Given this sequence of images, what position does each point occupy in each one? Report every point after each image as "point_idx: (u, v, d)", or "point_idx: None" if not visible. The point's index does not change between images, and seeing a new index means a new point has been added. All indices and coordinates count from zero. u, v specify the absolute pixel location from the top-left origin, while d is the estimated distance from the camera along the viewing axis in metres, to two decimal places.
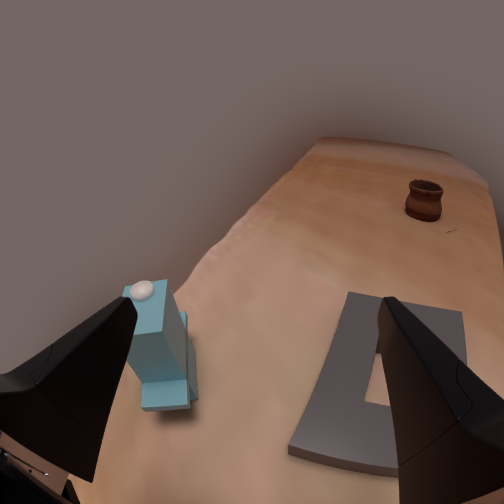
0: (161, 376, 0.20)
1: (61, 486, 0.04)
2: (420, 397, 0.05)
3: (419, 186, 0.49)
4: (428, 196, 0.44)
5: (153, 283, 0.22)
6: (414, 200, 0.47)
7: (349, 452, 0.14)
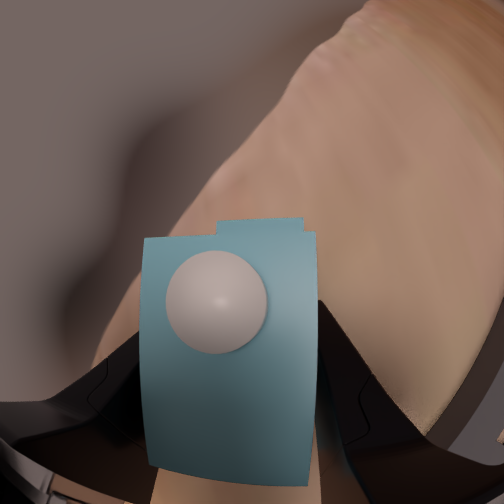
0: None
1: None
2: (325, 409, 0.05)
3: None
4: None
5: (257, 245, 0.06)
6: None
7: None
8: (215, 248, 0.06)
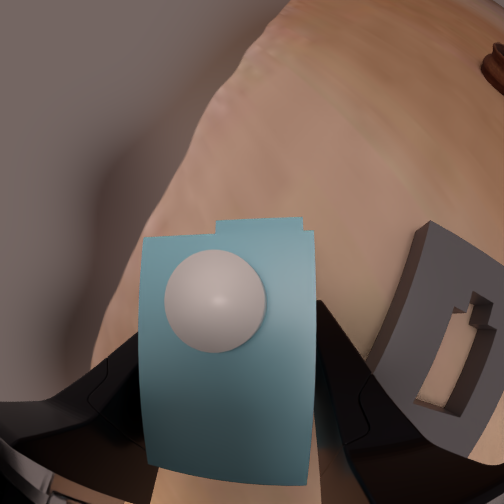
0: None
1: None
2: (324, 409, 0.05)
3: (502, 51, 0.17)
4: None
5: (255, 244, 0.06)
6: (497, 67, 0.18)
7: None
8: (214, 247, 0.06)
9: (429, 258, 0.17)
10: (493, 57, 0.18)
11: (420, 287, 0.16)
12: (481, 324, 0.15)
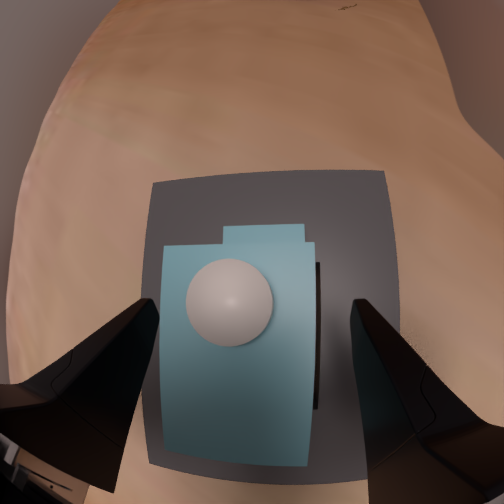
0: None
1: (82, 498, 0.04)
2: (384, 403, 0.05)
3: None
4: None
5: (264, 254, 0.07)
6: None
7: (215, 470, 0.12)
8: (228, 256, 0.07)
9: (157, 224, 0.15)
10: None
11: (154, 262, 0.15)
12: None
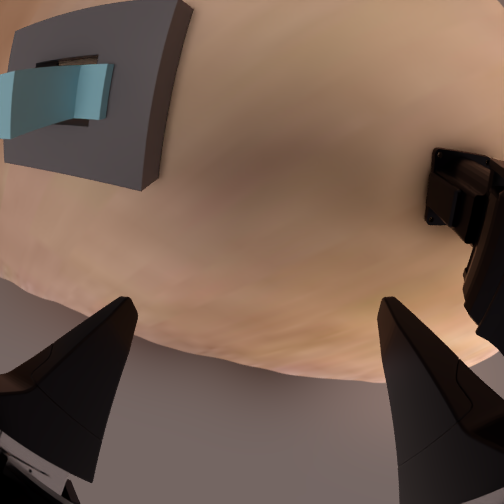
0: (69, 91, 0.13)
1: (61, 486, 0.04)
2: (420, 397, 0.05)
3: None
4: None
5: None
6: None
7: (139, 130, 0.16)
8: None
9: (17, 157, 0.17)
10: None
11: (29, 159, 0.17)
12: None
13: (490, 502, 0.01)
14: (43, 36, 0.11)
